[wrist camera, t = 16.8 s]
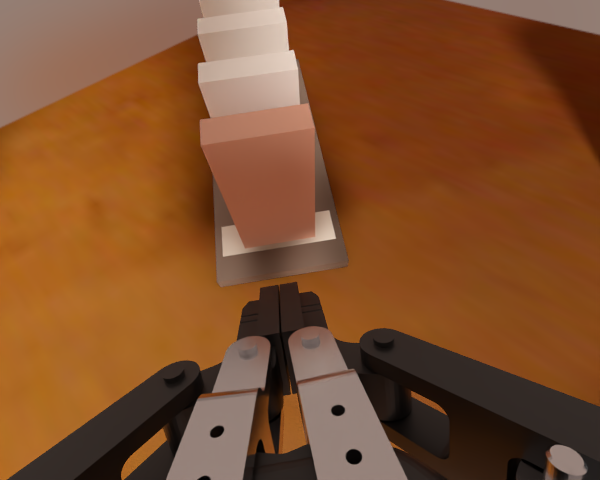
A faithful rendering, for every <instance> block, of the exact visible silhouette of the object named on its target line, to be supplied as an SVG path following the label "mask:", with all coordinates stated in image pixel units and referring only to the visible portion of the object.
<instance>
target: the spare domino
mask: <svg viewBox="0 0 600 480" xmlns="http://www.w3.org/2000/svg"><path fill="white" fill-rule="evenodd" d="M200 140H201V147H202V150H203V152H204V154H205V157H206V159H207V161H208V164H209V166H210V168H211V171H212V173H213V175H214V178H215V180H216V182H217V185H218V187H219V189H220V192H221V194H222V196H223V198H224V201H225V203H226V205H227V208H228V210H229V212H230V215H231V217H232V219H233V222H234V224H235V226H236V229H237V231H238V233H239V236H240V238H241V240H242V242H243V245H244V247H245V249H246V248H252V247H258V246H264V245H270V244H276V243H282V242H287V241H293V240H299V239H305V238H311V237H315V127H314V123H313V119H312V116H311V112H310V108H309V104H308V103H307V104H300V105H293V106H287V107H280V108H274V109H267V110H261V111H254V112H248V113H241V114H234V115H228V116H221V117H215V118H208V119H202V120H200Z"/></svg>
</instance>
